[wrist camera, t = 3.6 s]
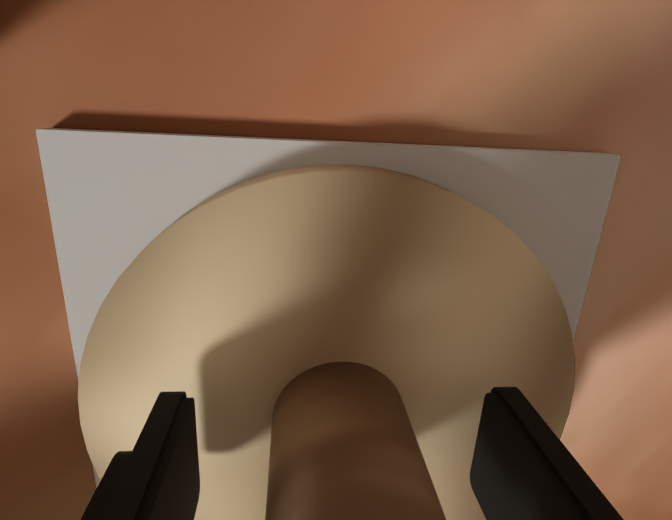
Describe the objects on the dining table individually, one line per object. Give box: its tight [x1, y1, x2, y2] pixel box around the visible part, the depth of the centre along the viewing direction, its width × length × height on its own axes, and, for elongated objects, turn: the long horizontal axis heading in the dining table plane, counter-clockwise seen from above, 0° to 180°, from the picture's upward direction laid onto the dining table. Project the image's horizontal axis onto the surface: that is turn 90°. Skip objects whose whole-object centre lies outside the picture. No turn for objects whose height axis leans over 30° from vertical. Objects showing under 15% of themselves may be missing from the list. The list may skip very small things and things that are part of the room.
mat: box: [36, 128, 621, 488], centre depth 13 cm, size 14×14×1 cm
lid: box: [78, 164, 575, 520], centre depth 10 cm, size 13×13×6 cm
